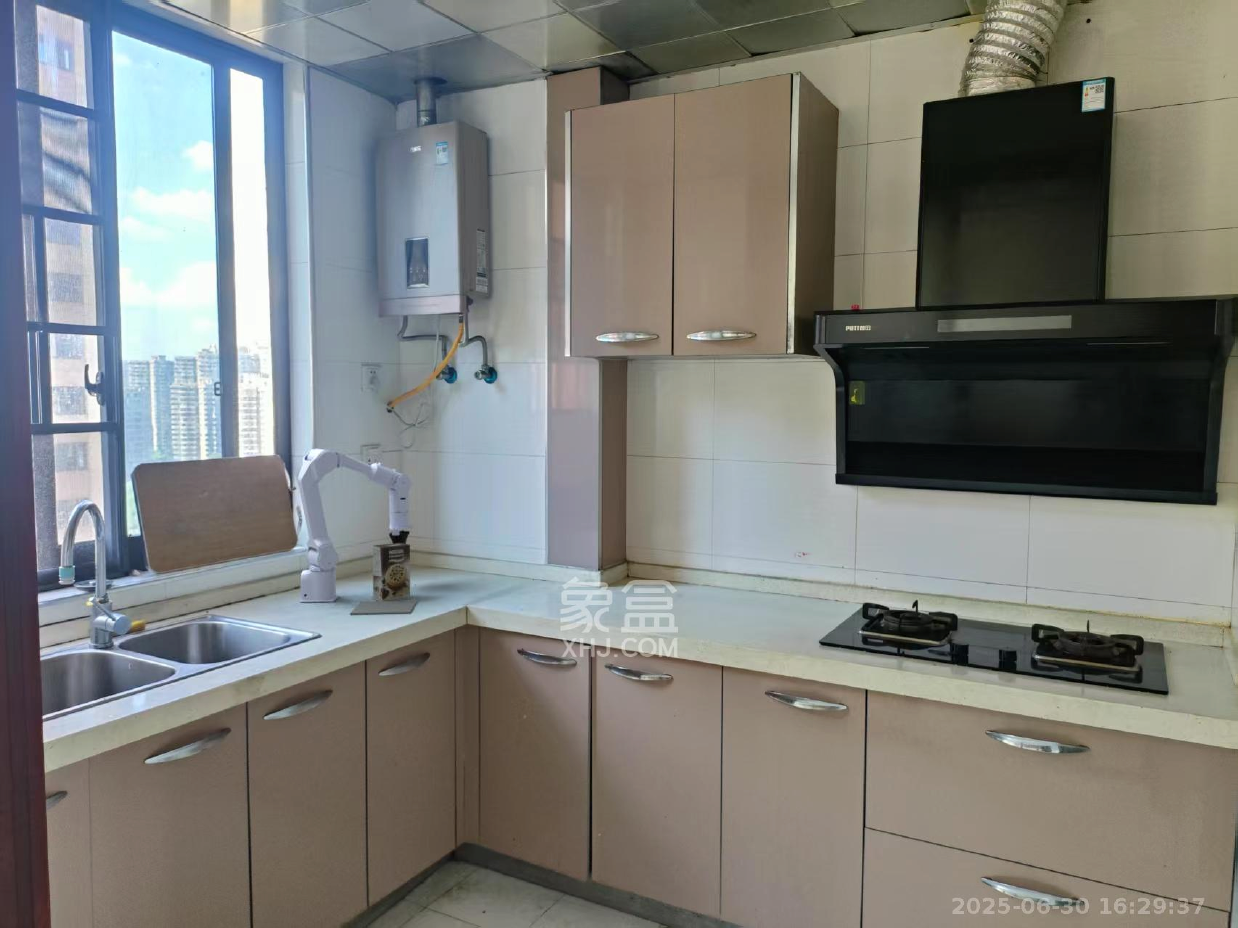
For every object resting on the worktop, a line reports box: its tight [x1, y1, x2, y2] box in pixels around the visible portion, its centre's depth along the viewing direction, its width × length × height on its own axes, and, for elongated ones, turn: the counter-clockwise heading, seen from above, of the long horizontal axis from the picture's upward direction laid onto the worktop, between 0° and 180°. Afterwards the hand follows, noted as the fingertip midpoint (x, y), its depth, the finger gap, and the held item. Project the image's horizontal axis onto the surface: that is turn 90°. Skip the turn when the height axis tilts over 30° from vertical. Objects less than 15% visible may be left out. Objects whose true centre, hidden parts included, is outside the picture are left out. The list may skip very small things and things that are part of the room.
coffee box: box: [372, 542, 411, 601], centre depth 251 cm, size 9×6×16 cm
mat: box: [349, 600, 418, 616], centre depth 239 cm, size 16×14×1 cm
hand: (399, 555), depth 266 cm, fingers closed
